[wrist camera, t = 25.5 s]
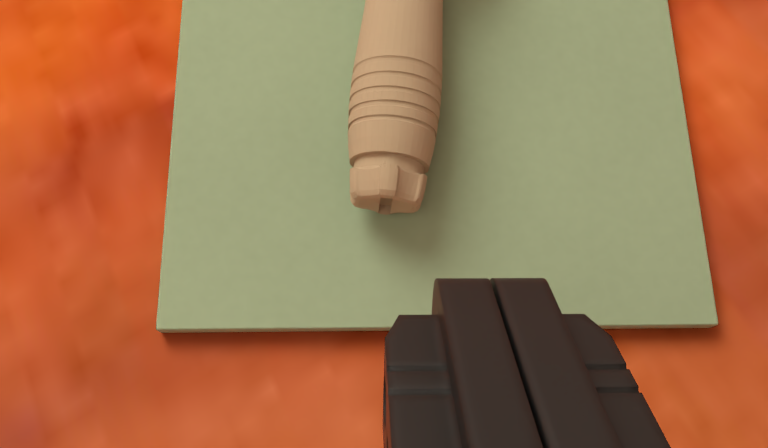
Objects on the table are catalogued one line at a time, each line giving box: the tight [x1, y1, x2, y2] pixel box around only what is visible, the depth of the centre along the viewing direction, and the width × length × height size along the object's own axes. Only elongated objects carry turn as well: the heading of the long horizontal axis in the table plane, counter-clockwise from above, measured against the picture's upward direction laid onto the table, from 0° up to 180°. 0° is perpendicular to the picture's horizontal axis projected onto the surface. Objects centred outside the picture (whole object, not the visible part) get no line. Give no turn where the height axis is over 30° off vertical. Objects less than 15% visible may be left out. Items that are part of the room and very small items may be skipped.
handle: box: [348, 0, 443, 215], centre depth 32 cm, size 5×6×15 cm
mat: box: [156, 0, 718, 333], centre depth 34 cm, size 24×20×1 cm
